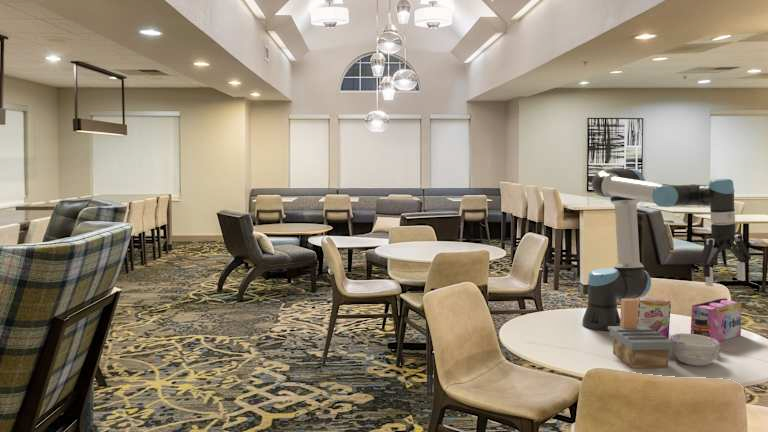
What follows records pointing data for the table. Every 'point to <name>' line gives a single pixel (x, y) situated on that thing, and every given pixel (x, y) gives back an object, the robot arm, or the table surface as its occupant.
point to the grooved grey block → (637, 330)
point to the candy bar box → (654, 315)
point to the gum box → (720, 318)
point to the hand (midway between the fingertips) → (725, 283)
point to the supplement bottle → (701, 327)
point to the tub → (641, 356)
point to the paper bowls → (695, 348)
